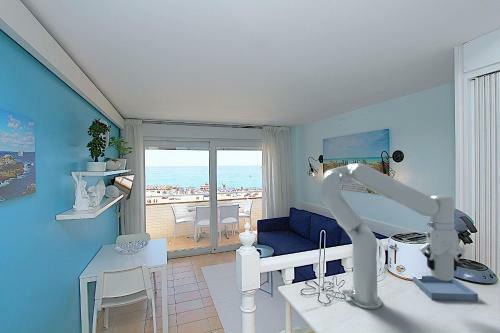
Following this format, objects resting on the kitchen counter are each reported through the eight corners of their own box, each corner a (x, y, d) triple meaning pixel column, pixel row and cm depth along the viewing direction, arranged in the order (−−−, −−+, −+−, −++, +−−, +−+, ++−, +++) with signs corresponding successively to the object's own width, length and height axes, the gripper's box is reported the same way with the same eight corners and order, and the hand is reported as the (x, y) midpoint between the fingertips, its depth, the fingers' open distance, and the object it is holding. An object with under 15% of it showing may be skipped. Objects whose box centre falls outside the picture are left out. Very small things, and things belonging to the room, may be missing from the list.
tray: (431, 299, 104) (431, 292, 104) (411, 281, 120) (411, 275, 119) (477, 301, 102) (477, 294, 101) (451, 281, 117) (450, 275, 117)
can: (458, 282, 93) (458, 251, 93) (436, 281, 94) (436, 250, 94) (446, 273, 100) (446, 245, 100) (426, 272, 102) (426, 244, 101)
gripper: (424, 228, 94) (424, 272, 95) (473, 228, 92) (472, 274, 93) (413, 223, 102) (413, 264, 102) (458, 223, 99) (458, 265, 100)
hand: (441, 268), depth 97 cm, fingers closed on can, 7 cm apart
